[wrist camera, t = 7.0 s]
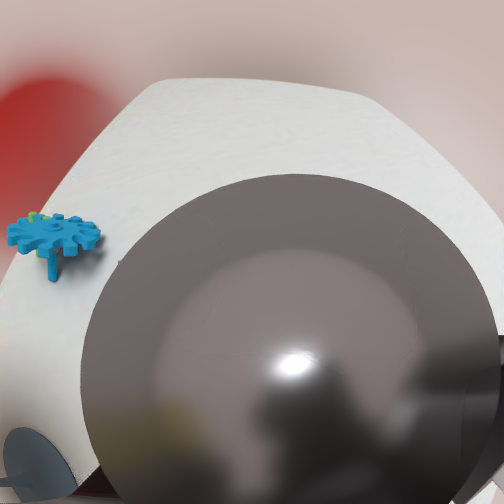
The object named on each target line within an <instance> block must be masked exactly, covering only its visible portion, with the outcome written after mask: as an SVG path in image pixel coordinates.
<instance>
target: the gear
mask: <svg viewBox="0 0 504 504" xmlns="http://www.w3.org/2000/svg"><path fill="white" fill-rule="evenodd" d="M94 227H95V224H94V223H93V222H83V223H82V218H80V217H77V216H73V217H71V218H69V219H64V215H62V214H53V217H52V218H51V217H48V216H45V215H43V214H37V213H36V212H30V213H29V222H28V218H20V219H18V220H17V224H11V225H9V226H8V227H7V236H8V246H14V245H17V249H18V252H19V253H21V254H28V253H29V252H31V251H32V250H35V249H36V256H37V257H42V258H48V279H49V280H50V281H56V280H57V253H58V252H59V251H60V247H63V255H64V256H77V254H78V244H77V243H79V244H81V245H82V249H84V250H91V249H94V248H95V247H96V242H97V241H99V239H100V231H101V230H99V229H94Z"/></svg>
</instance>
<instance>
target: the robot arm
mask: <svg viewBox="0 0 504 504" xmlns="http://www.w3.org/2000/svg"><path fill="white" fill-rule="evenodd" d="M498 338H499V345H500V354H501V385H500V393H499V400H498V407H497V411H496V415H495V419H494V423H493V426H492V430H491V433H490V435H489V438H488V440H487V443H486V445H485V448H484V450H483V452H482V455H481V457H480V459H479V461H478V462H477V464H476V466H475V468H474V469H473V471H472V473H471V474H470V476H469V478H468V479H467V481H466V482H465V484H464V485H463V486H462V488H461V489H460V490H459V492H458V493H457V494H456V495H455V497H454V498H453V499H452V500H453V502H454V503H455V504H467V503H468V502H469V501H470V500H471V499H473V498H474V497H475V496H476V495H477V494H478V493H479V492H481V491H482V490H483V489H484V488H485V487H486V486H487V485H488V484H489V483H490V482H491V481H493V482H494V483H495V484H496V485H497V486H498V487H499V488H500V489H501V490H502V491H503V493H504V335H498ZM0 504H3V503H0ZM8 504H125V503H124V502H123V500H122V499H121V498H120V496H119V495H118V494H117V492H116V491H115V489H114V488H113V486H112V485H111V483H110V482H109V480H108V479H107V477H106V475H105V474H104V472H103V470H102V468H101V466H99V467H98V468H97V469H96V470H95V471H94V472H93V473H92V474H91V475H90V476H89V477H88V478H87V479H86V480H85V481H84V482H83V483H82V484H81V485H80V486H79V487H78V488H77V489H76V490H75V491H74V492H72V493H71V494H69V495H67V496H65V497H62V498H59V499H53V500H46V501H37V502H26V503H8Z"/></svg>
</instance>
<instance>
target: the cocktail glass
mask: <svg viewBox="0 0 504 504" xmlns="http://www.w3.org/2000/svg"><path fill="white" fill-rule="evenodd" d="M3 455H4V465H5V469H6V473H7V476H8V477H7V478H0V487H13V489H14V491H15V493H16V494H17V496H18V497H19V499H20V500H21V501H22V503H26V502H37V501H46V500H53V499H59V498H62V497H65V496H67V495H69V494H71V493H72V492H74V491H75V490H76V489H77V488H78V487H77V484H76V482H75V479H74V477H73V475H72V473H71V471H70V469H69V467H68V465H67V463H66V462H65V460H64V459H63V457H62V456H61V454H60V453H59V452H58V451H57V449H56V448H55V447H54V446H53V445H52V444H51V443H50V442H49V441H48V440H47V439H46V438H45V437H43V436H42V435H41V434H39V433H38V432H36V431H34V430H31V429H28V428H17V429H14V430H13V431H11V432H10V433H9V435H8V436H7V438H6V440H5V444H4V451H3Z"/></svg>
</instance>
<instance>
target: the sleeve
mask: <svg viewBox="0 0 504 504" xmlns="http://www.w3.org/2000/svg"><path fill="white" fill-rule="evenodd" d="M500 385H501V354H500V345H499V338H498V332H497V328H496V324H495V320H494V316H493V313H492V309H491V306H490V304H489V301H488V299H487V296H486V294H485V291H484V289H483V287H482V285H481V283H480V281H479V279H478V278H477V276H476V274H475V272H474V270H473V269H472V267H471V266H470V264H469V263H468V261H467V260H466V259H465V257H464V256H463V254H462V253H461V252H460V250H459V249H458V248H457V247H456V246H455V244H454V243H453V242H452V241H451V240H450V239H449V238H448V237H447V236H446V235H445V234H444V233H443V232H442V231H441V230H440V229H439V228H438V227H437V226H436V225H434V224H433V223H432V222H431V221H430V220H429V219H427V218H426V217H425V216H424V215H422V214H421V213H419V212H418V211H416V210H415V209H413V208H412V207H410V206H409V205H407V204H406V203H404V202H402V201H400V200H398V199H396V198H394V197H393V196H391V195H389V194H387V193H385V192H382V191H380V190H377V189H374V188H372V187H369V186H366V185H364V184H360V183H357V182H353V181H349V180H345V179H341V178H335V177H329V176H322V175H310V174H284V175H271V176H264V177H258V178H253V179H248V180H243V181H240V182H236V183H233V184H230V185H226V186H223V187H220V188H218V189H215V190H213V191H211V192H208V193H206V194H204V195H201V196H199V197H197V198H195V199H193V200H192V201H190V202H188V203H186V204H185V205H183V206H181V207H179V208H178V209H176V210H175V211H173V212H172V213H170V214H169V215H168V216H166V217H165V218H164V219H162V220H161V221H160V222H158V223H157V224H156V225H154V226H153V227H152V228H151V229H150V230H149V231H148V232H147V233H146V234H145V235H144V236H143V237H142V238H140V239H139V240H138V241H137V242H136V243H135V245H134V246H133V247H132V248H131V249H130V250H129V252H128V253H127V254H126V255H125V256H124V258H123V259H122V260H121V261H120V263H119V264H118V266H117V267H116V269H115V270H114V272H113V273H112V275H111V276H110V278H109V280H108V281H107V283H106V284H105V286H104V288H103V290H102V292H101V295H100V297H99V299H98V301H97V303H96V305H95V308H94V310H93V313H92V316H91V319H90V322H89V326H88V329H87V332H86V336H85V341H84V347H83V353H82V360H81V386H80V388H81V400H82V408H83V415H84V421H85V425H86V428H87V432H88V435H89V438H90V442H91V445H92V448H93V450H94V453H95V455H96V457H97V459H98V461H99V463H100V466H101V468H102V470H103V472H104V474H105V475H106V477H107V479H108V480H109V482H110V483H111V485H112V486H113V488H114V489H115V491H116V492H117V494H118V495H119V496H120V498H121V499H122V500H123V502H124V503H125V504H449V503H450V502H451V500H452V499H453V498H454V497H455V495H456V494H457V493H458V492H459V490H460V489H461V488H462V486H463V485H464V484H465V482H466V481H467V479H468V478H469V476H470V474H471V473H472V471H473V469H474V468H475V466H476V464H477V462H478V461H479V459H480V457H481V455H482V452H483V450H484V448H485V445H486V443H487V440H488V438H489V435H490V433H491V430H492V426H493V423H494V419H495V415H496V411H497V407H498V400H499V393H500Z"/></svg>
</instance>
